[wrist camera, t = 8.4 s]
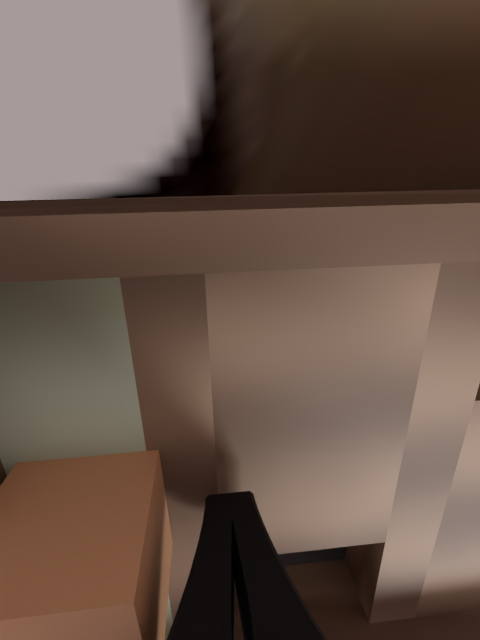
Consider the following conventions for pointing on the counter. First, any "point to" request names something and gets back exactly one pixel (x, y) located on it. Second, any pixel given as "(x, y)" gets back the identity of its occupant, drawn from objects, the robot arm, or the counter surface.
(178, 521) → the open tray box
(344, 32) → the counter surface
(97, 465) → the terracotta block
